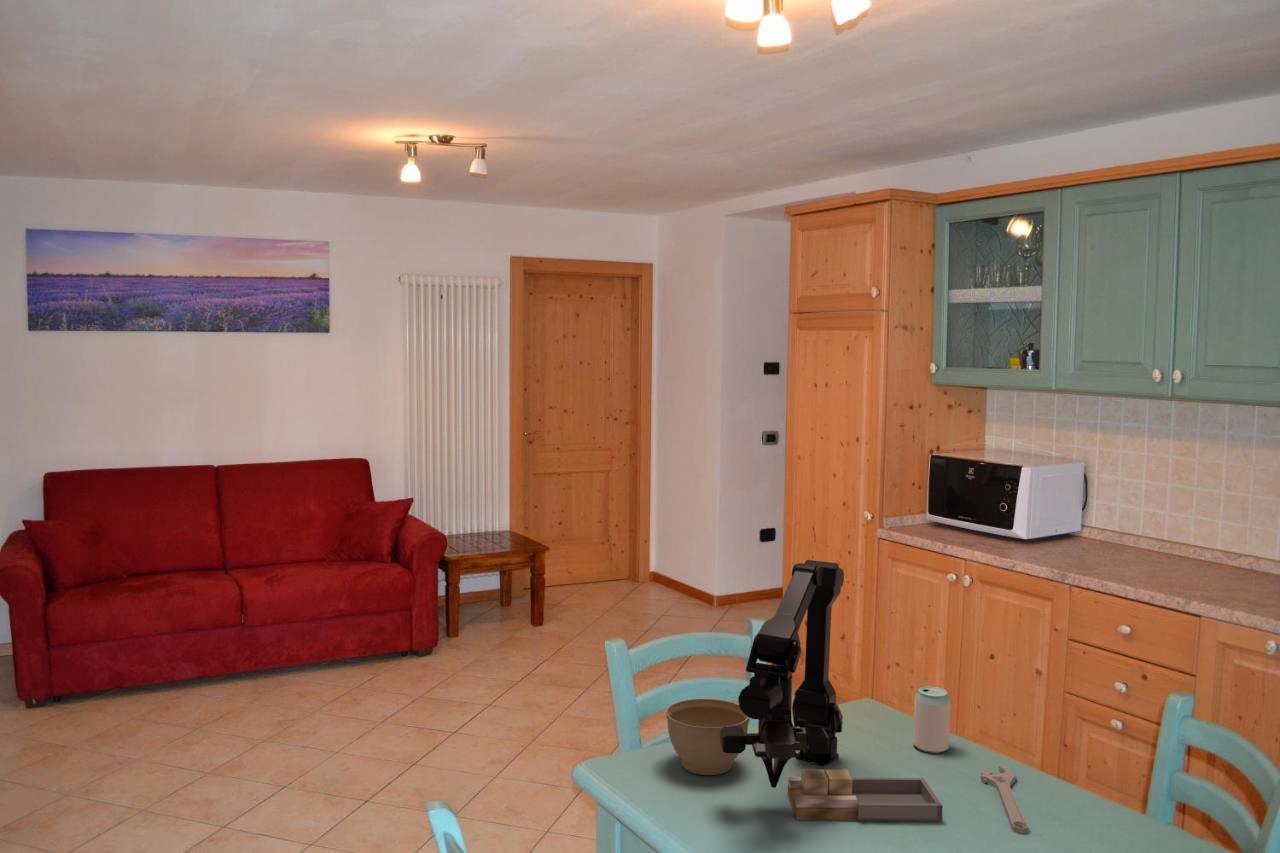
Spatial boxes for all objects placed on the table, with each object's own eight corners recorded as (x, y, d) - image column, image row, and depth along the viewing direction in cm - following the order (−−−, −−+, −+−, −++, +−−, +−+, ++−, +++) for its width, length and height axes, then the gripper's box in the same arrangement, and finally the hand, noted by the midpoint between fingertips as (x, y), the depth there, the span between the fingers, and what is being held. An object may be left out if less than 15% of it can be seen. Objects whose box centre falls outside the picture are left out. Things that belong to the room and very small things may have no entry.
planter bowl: (765, 766, 194) (766, 711, 193) (712, 792, 183) (714, 734, 182) (701, 743, 205) (702, 691, 204) (648, 766, 193) (649, 711, 193)
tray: (858, 821, 172) (858, 805, 171) (844, 793, 183) (844, 777, 182) (941, 822, 172) (942, 805, 172) (922, 793, 183) (923, 778, 183)
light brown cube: (829, 801, 175) (829, 779, 175) (824, 791, 179) (825, 769, 179) (851, 801, 175) (852, 779, 175) (846, 791, 179) (847, 769, 179)
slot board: (797, 820, 172) (797, 800, 172) (787, 794, 182) (788, 775, 182) (857, 820, 172) (858, 800, 172) (844, 794, 182) (845, 776, 182)
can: (914, 753, 201) (917, 695, 200) (911, 739, 208) (913, 683, 207) (951, 756, 200) (953, 697, 199) (946, 742, 207) (948, 686, 206)
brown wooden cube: (804, 801, 175) (805, 779, 175) (800, 791, 179) (801, 769, 179) (827, 801, 175) (828, 779, 175) (822, 791, 179) (823, 769, 179)
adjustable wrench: (1030, 838, 168) (1030, 828, 168) (989, 833, 170) (990, 823, 169) (1013, 776, 192) (1014, 767, 192) (978, 772, 194) (979, 763, 194)
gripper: (727, 717, 167) (725, 807, 169) (837, 718, 168) (835, 807, 169) (720, 694, 178) (719, 778, 180) (824, 695, 179) (822, 779, 180)
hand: (773, 786), depth 177 cm, fingers closed
